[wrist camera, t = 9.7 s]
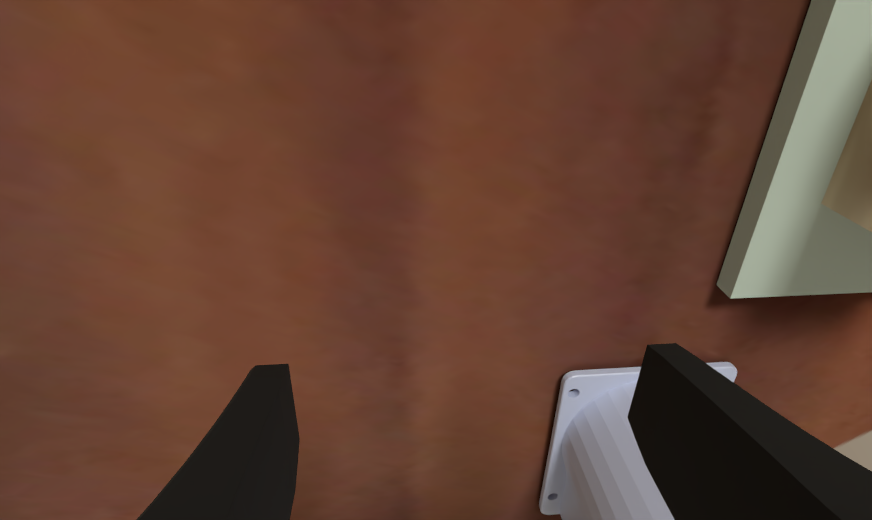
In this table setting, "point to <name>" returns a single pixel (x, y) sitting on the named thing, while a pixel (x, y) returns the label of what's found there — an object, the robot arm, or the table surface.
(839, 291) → the pin base
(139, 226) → the table surface
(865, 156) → the collar block
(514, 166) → the table surface
